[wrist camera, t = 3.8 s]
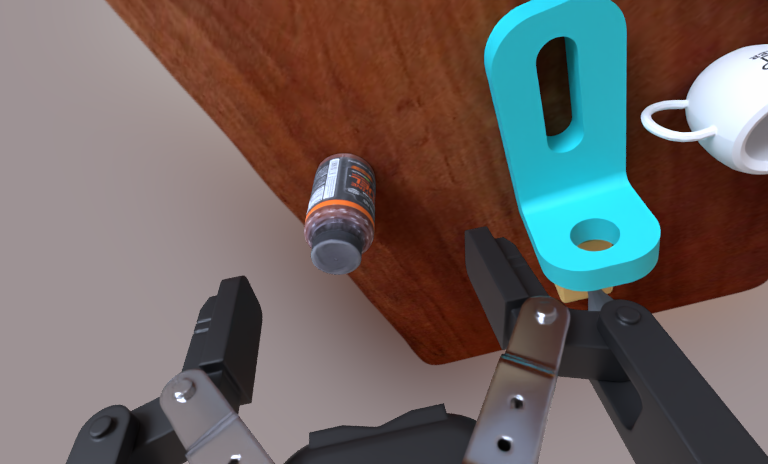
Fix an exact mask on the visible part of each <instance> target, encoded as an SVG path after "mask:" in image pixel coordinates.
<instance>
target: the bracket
mask: <svg viewBox="0 0 768 464" xmlns="http://www.w3.org/2000/svg"><path fill="white" fill-rule="evenodd" d="M562 36H564V37H565V47H566V57H567V68H568V78H569V89H570V99H571V110H572V121H571V123H570V125H569V126H568V128H567V129H566V130H565V131H563V132H562V133H560V134H558V135H555V136H546V130H545V123H544V117H543V110H542V103H541V96H540V90H539V83H538V76H537V70H536V58H537V55H538V53H539V51H540V49H541V48H542V47H543V46H544V45H545V44H546V43H547V42H548V41H550V40H552V39H554V38H556V37H562ZM626 44H627V30H626V21H625V18H624V15H623V13H622V12H621V10H620V9H619V7H618V6H617V5H616V4H614V3H613V2H612V1H610V0H531V1H529V2H527V3H524V4H522V5H520V6H518V7H516V8H515V9H513V10H511V11H510V12H509V13H507V14H506V15H505V16H504V17H503V18H502V19H501V20H500V21H499V22H498V24H497V25H496V26H495V28H494V29H493V31H492V32H491V34H490V36H489V39H488V41H487V44H486V48H485V53H484V64H485V70H486V74H487V78H488V82H489V86H490V91H491V95H492V99H493V103H494V107H495V112H496V116H497V120H498V124H499V129H500V133H501V137H502V141H503V145H504V150H505V154H506V158H507V162H508V167H509V171H510V175H511V179H512V183H513V188H514V192H515V196H516V200H517V205H518V209H519V212H520V215H521V217H522V220H523V222H524V225H525V228H526V230H527V233H528V235H529V238H530V240H531V243H532V245H533V248H534V250H535V253H536V256H537V258H538V261H539V263H540V266H541V268H542V271H543V272H544V274H545V275H546V277H547V278H548V279H549V280H550V281H552V282H553V283H555V284H556V285H558V286H560V287H563V288H565V289H569V290H573V291H594V290H599V289H604V288H608V287H612V286H617V285H621V284H625V283H629V282H633V281H636V280H638V279H640V278H642V277H644V276H646V275H647V274H648V273H649V272H650V271H651V270H652V269H653V268H654V267H655V265H656V263H657V260H658V254H659V243H660V226H659V223H658V221H657V219H656V218H655V217H654V215H653V214H652V213H651V211H650V210H649V209H648V208H647V206H646V205H645V204H644V202H643V201H642V200H641V198H640V197H639V196H638V194H637V193H636V192H635V191H634V189H633V188H632V187H631V185H630V183H629V181H628V179H627V175H626ZM595 239H597V240H605V241H608V242H610V243H612V244H614V246H612V247H611V248H608V249H606V250H602V251H586V250H583V249H580V248H578V247H577V246H578V245H579V244H581V243H583V242H585V241H588V240H595Z"/></svg>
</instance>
